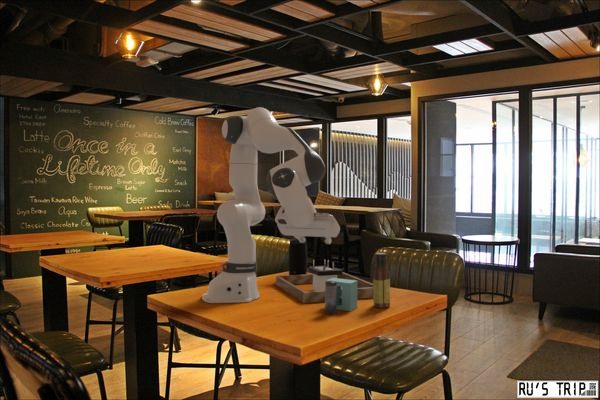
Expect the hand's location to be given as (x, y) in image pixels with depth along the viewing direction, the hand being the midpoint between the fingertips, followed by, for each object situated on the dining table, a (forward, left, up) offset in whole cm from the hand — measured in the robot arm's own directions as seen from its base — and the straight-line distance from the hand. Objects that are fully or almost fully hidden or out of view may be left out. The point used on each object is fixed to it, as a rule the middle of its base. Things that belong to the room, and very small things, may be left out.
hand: (316, 241), depth 158 cm
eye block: (+16, +14, -26) cm, 34 cm away
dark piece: (+14, +12, -26) cm, 32 cm away
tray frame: (+22, +42, -26) cm, 54 cm away
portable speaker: (+18, +66, -26) cm, 73 cm away
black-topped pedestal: (+21, +41, -27) cm, 53 cm away
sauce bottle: (+31, +11, -26) cm, 42 cm away
